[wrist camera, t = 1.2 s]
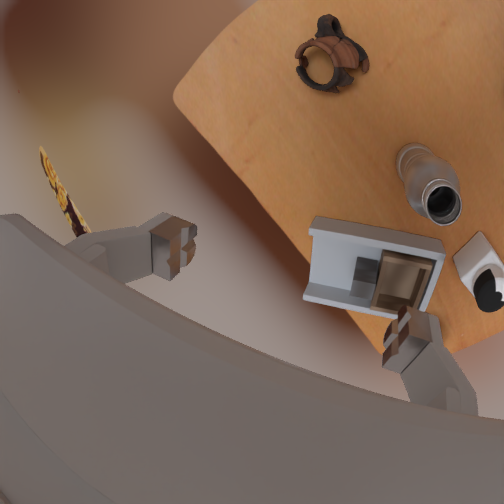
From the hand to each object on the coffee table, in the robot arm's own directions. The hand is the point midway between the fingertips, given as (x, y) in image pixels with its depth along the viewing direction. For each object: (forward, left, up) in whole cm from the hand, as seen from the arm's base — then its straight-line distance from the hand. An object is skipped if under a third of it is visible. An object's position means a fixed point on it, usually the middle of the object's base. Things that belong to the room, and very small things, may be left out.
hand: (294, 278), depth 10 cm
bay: (-5, +19, -35) cm, 40 cm away
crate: (-8, +19, -34) cm, 40 cm away
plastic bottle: (-9, +1, -35) cm, 36 cm away
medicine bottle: (-24, +14, -35) cm, 45 cm away
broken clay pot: (+4, -14, -35) cm, 38 cm away
